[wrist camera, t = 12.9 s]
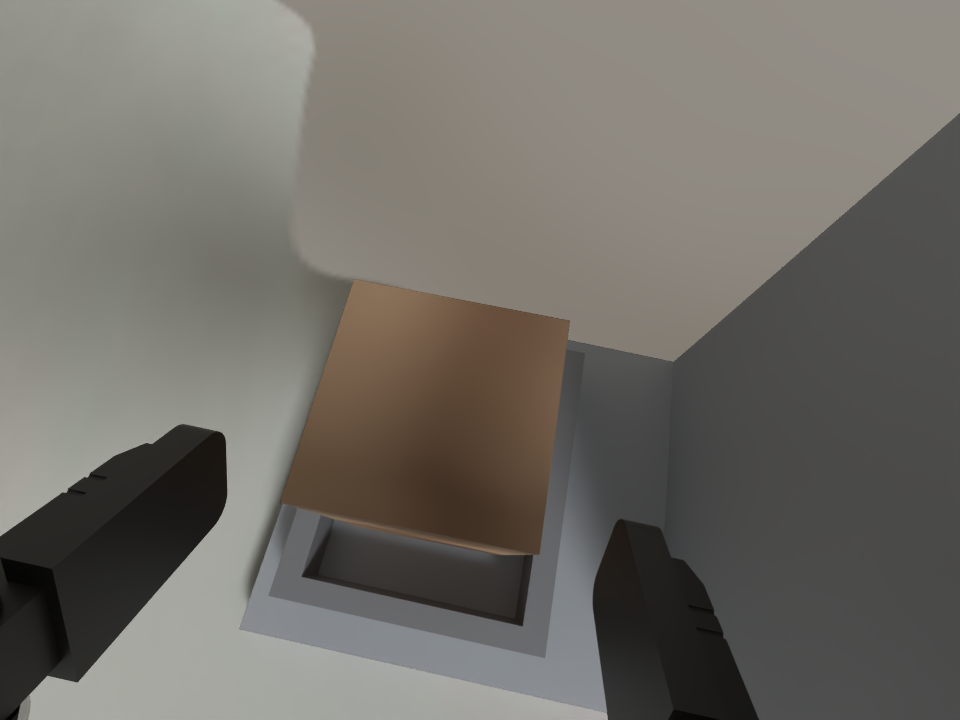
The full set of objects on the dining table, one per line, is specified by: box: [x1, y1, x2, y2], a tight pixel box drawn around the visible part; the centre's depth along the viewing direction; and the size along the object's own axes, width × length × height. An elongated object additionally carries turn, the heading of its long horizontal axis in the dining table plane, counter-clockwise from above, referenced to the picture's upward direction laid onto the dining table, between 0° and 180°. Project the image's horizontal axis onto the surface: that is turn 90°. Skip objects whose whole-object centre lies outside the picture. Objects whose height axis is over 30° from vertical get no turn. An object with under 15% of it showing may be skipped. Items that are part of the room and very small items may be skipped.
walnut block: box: [280, 279, 570, 555], centre depth 14 cm, size 5×6×9 cm
